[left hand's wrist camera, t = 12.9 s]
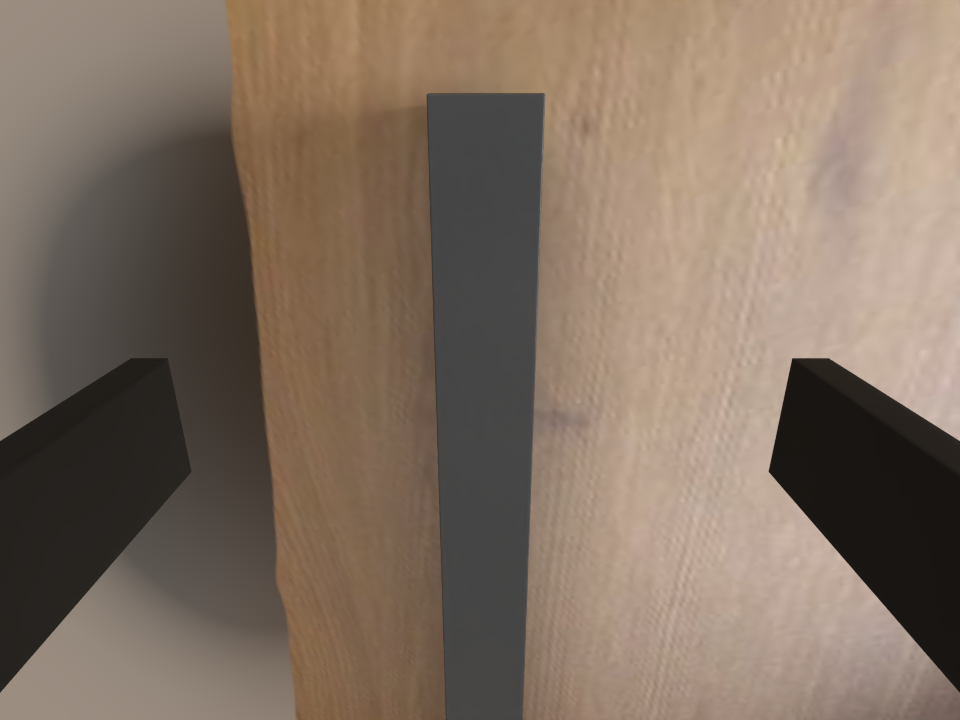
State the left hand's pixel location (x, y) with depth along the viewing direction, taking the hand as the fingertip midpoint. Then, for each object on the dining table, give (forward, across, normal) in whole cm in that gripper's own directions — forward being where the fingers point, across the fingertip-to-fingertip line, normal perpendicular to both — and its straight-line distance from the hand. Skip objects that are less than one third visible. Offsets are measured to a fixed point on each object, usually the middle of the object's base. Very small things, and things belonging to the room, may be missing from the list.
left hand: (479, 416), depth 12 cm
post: (+25, 0, -26) cm, 36 cm away
